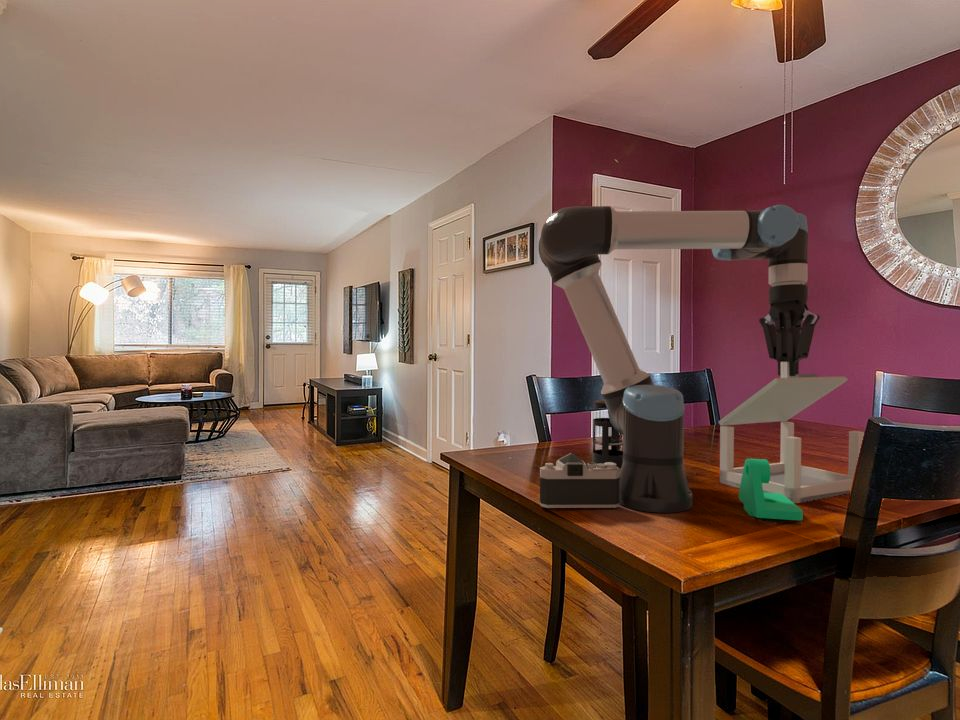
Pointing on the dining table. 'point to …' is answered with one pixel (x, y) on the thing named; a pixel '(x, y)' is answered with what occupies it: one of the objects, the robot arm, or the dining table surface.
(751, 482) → the camera mount
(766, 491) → the frame
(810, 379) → the lid
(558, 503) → the camera
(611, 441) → the french press
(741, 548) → the dining table surface
